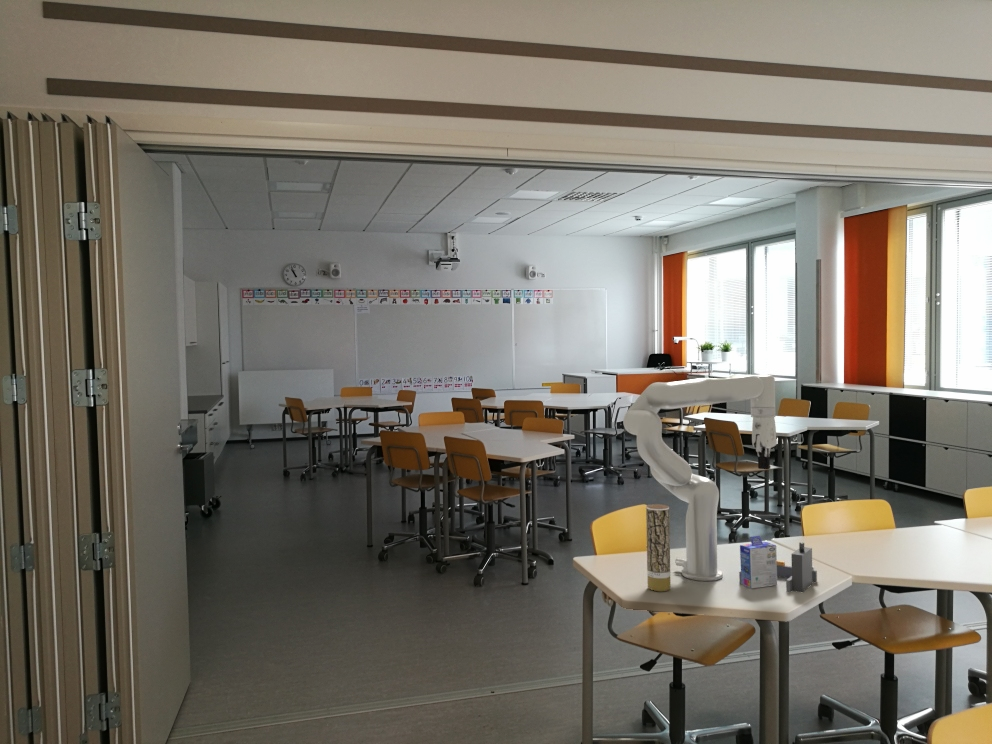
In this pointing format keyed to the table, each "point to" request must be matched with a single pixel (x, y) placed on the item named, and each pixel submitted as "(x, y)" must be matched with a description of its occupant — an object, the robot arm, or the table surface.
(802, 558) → the grey bracket fixture
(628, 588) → the table surface
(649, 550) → the paper tube
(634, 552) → the table surface
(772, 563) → the ink cartridge box
